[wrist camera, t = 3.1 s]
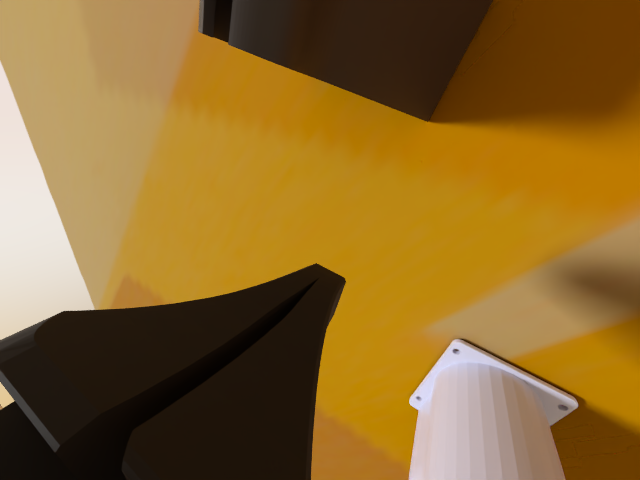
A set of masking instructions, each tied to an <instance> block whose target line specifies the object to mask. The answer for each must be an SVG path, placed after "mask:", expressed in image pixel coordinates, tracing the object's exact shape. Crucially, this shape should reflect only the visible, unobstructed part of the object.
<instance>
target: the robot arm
mask: <svg viewBox="0 0 640 480" xmlns="http://www.w3.org/2000/svg"><path fill="white" fill-rule="evenodd" d="M345 283H346V281H345V278H344V277H342V276H340V275H338V274H336V273H334V272H332V271H330V270H328V269H326V268H324V267H322V266H321V265H319V264H317V263H316V264H313V265H311V266H308V267H306V268H303V269H301V270H298V271H296V272H293V273H291V274H288V275H285V276H283V277H280V278H277V279H275V280H272V281H269V282H266V283H263V284H260V285H257V286H253V287H250V288H247V289H244V290H240V291H236V292H233V293H229V294H224V295H220V296H215V297H211V298H205V299H199V300H193V301H187V302H181V303H175V304H167V305H158V306H149V307H138V308H125V309H107V310H86V311H63V312H61V313H59V314H57V315H55V316H52V317H50V318H48V319H46V320H43V321H41V322H39V323H37V324H35V325H33V326H31V327H28V328H26V329H24V330H22V331H19V332H17V333H15V334H13V335H11V336H9V337H6V338H4V339H2V340H0V382H1V383H2V385H3V386H4V387H5V389H6V390H7V391H8V392H9V394H10V395H11V396H12V398H13V399H14V400H15V401H14V402H13V403H11V404H9V405H8V406H6V407H4V408H2V406H1V405H0V480H311V461H312V442H313V426H314V415H315V403H316V391H317V383H318V375H319V367H320V361H321V354H322V348H323V343H324V338H325V333H326V329H327V326H328V324H329V322H330V321H331V319H332V317H333V315H334V313H335V310H336V307H337V305H338V302H339V299H340V296H341V294H342V291H343V288H344V285H345ZM454 349H458V350H459V351H456V350H454ZM409 403H410V405H411V406H412V407H414V408H416V409H417V410H419V412H418V419H417V426H416V432H415V439H414V446H413V453H412V459H411V466H410V473H409V480H566V479H565V476H564V472H563V469H562V466H561V462H560V459H559V456H558V453H557V449H556V446H555V443H554V439H553V436H552V433H551V429H550V426H551V425H553V424H554V423H556V422H557V421H559V420H560V419H562V418H563V417H564V416H566V415H567V414H569V413H570V412H572V411H573V410H575V409H576V408H577V407H578V403H577V400H576V399H575V398H574V397H573V396H571V395H569V394H567V393H565V392H564V391H562V390H560V389H558V388H556V387H554V386H552V385H550V384H548V383H546V382H544V381H542V380H540V379H538V378H536V377H534V376H532V375H530V374H528V373H526V372H524V371H522V370H520V369H518V368H516V367H514V366H512V365H510V364H508V363H506V362H504V361H503V360H501V359H499V358H497V357H495V356H493V355H491V354H489V353H487V352H485V351H483V350H481V349H479V348H477V347H475V346H473V345H471V344H469V343H467V342H465V341H463V340H460V339H455V340H454V341H453V342H452V343H451V344H450V345H449V347H448V348H447V349H446V351H445V352H444V353H443V355H442V356H441V357H440V359H439V360H438V361H437V363H436V364H435V365H434V367H433V368H432V369H431V371H430V372H429V373H428V375H427V376H426V377H425V379H424V380H423V381H422V382H421V384H420V385H419V386H418V388H417V389H416V390H415V392H414V393H413V394H412V396H411V397H410V400H409ZM561 405H564V406H561Z"/></svg>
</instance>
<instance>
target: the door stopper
mask: <svg viewBox="0 0 640 480" xmlns="http://www.w3.org/2000/svg"><path fill="white" fill-rule="evenodd" d="M492 1H493V0H200V6H199V29H198V32H200V33H202V34H205V35H208V36H210V37H215V38H217V39H220V40H223V41H225V42H228V45H231V46H233V47H236V48H238V49H241V50H243V51H246V52H248V53H251V54H253V55H256V56H258V57H261V58H263V59H266V60H268V61H271V62H273V63H276V64H278V65H281V66H284V67H286V68H289V69H292V70H294V71H297V72H300V73H303V74H305V75H308V76H311V77H314V78H316V79H319V80H321V81H324V82H327V83H329V84H332V85H334V86H337V87H339V88H342V89H345V90H347V91H350V92H352V93H355V94H357V95H360V96H363V97H365V98H368V99H370V100H373V101H375V102H378V103H381V104H383V105H386V106H388V107H391V108H393V109H396V110H399V111H401V112H404V113H406V114H409V115H411V116H414V117H417V118H419V119H422V120H424V121H427V122H428V121H429V119H430V117H431V115H432V113H433V111H434V109H435V108H436V106H437V104H438V102H439V100H440V98H441V96H442V95H443V93H444V91H445V89H446V87H447V85H448V83H449V81H450V80H451V78H452V76H453V74H454V72H455V70H456V68H457V67H458V65H459V63H460V61H461V59H462V57H463V55H464V53H465V52H466V50H467V48H468V46H469V44H470V42H471V40H472V39H473V37H474V35H475V33H476V31H477V29H478V27H479V26H480V24H481V22H482V20H483V18H484V16H485V14H486V12H487V11H488V9H489V7H490V5H491V3H492Z"/></svg>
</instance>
